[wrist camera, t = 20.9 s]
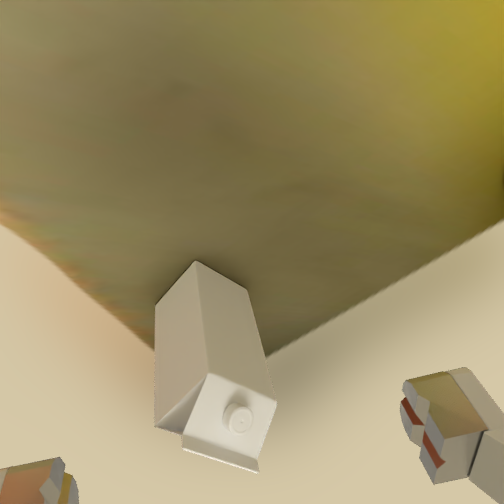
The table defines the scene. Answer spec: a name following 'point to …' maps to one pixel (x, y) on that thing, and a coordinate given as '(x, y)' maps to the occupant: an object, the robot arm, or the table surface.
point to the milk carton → (212, 369)
